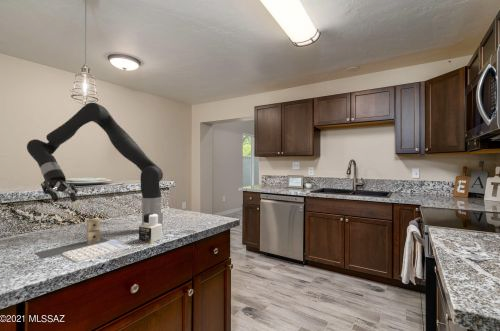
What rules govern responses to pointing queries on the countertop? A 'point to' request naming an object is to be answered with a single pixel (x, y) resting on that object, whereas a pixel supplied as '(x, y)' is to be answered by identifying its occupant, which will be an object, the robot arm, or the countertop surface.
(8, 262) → the countertop surface
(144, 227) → the medicine bottle
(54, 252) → the mat
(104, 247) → the calculator
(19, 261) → the countertop surface
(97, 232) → the domino
